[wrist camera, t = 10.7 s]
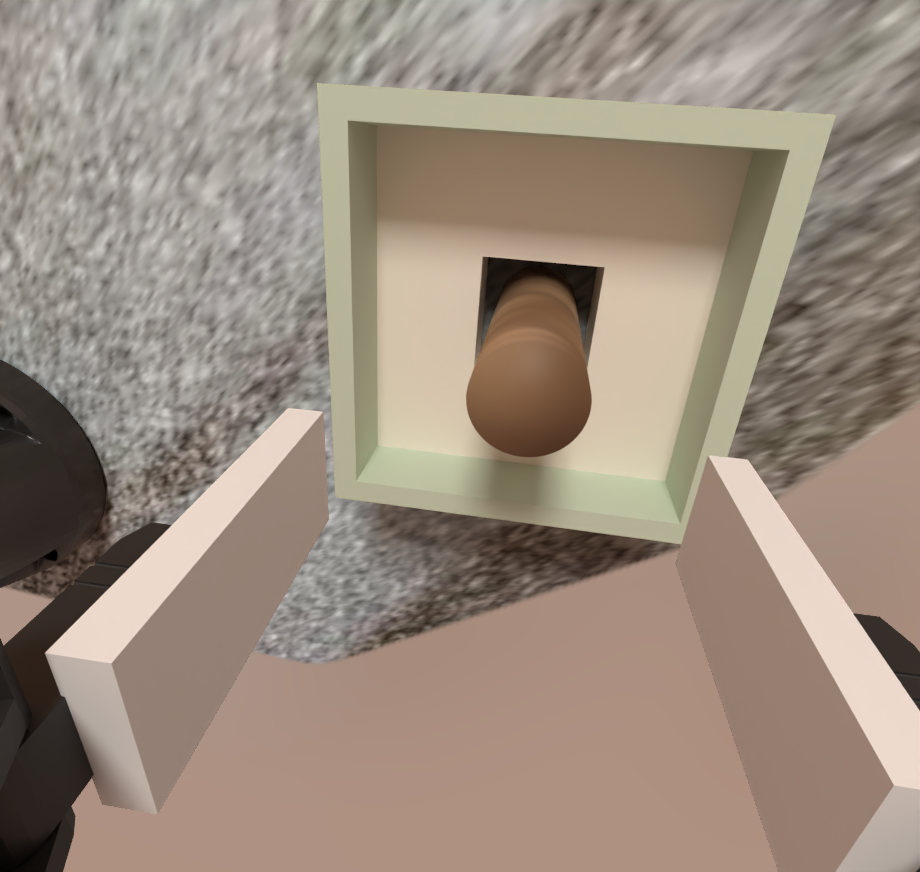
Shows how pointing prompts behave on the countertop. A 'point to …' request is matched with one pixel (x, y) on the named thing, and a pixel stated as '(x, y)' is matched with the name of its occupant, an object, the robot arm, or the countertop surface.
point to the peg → (531, 368)
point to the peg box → (557, 241)
